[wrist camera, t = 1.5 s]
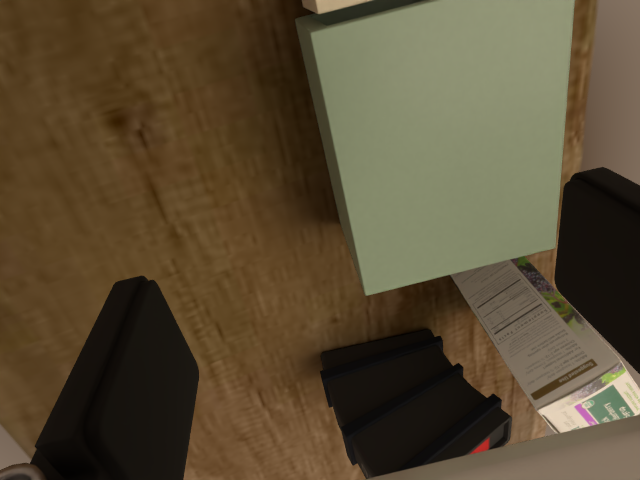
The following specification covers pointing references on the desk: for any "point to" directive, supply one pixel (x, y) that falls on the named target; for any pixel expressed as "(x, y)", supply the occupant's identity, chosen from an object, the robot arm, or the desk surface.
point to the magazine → (408, 405)
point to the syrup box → (549, 346)
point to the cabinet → (441, 130)
